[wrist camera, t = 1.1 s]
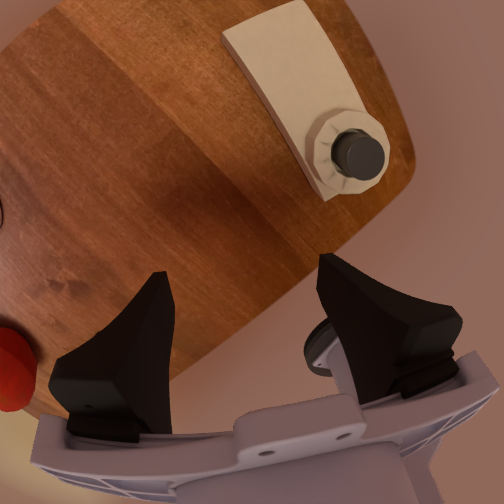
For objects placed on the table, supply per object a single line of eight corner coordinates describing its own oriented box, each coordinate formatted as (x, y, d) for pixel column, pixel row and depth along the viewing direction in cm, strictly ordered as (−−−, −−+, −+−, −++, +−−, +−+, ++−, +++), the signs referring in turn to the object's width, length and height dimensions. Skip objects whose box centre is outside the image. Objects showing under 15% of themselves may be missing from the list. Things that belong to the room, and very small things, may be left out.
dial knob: (374, 160, 18) (390, 168, 16) (342, 179, 18) (356, 189, 16) (360, 124, 16) (376, 129, 14) (325, 143, 17) (339, 149, 15)
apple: (-17, 327, 25) (-47, 386, 15) (2, 302, 23) (-38, 372, 14) (30, 370, 30) (10, 431, 20) (57, 354, 29) (34, 427, 19)
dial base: (371, 156, 22) (401, 171, 18) (313, 190, 23) (334, 211, 19) (291, 8, 15) (310, -11, 11) (220, 40, 16) (222, 25, 12)
